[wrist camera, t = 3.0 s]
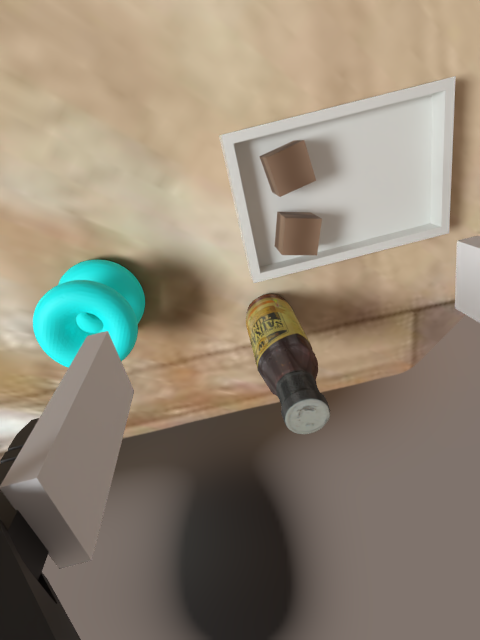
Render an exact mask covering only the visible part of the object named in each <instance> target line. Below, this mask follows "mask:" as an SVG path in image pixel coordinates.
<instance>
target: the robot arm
mask: <svg viewBox="0 0 480 640" xmlns="http://www.w3.org/2000/svg"><path fill="white" fill-rule="evenodd" d="M455 308H456V309H457V310H459V311H461V312H462V313H464V314H466V315H467V316H469V317H471V318H473V319H474V320H476V321H478V322H479V323H480V236H474V237H470V238H466V239H462V240H458V241H457V260H456V290H455ZM133 394H134V390H133V387H132V385H131V383H130V380H129V378H128V376H127V374H126V371H125V369H124V367H123V364H122V362H121V360H120V358H119V355H118V353H117V351H116V348H115V346H114V344H113V342H112V339H111V337H110V335H109V332H108V331H105V332H101V333H97V334H93V335H89V336H87V337H86V339H85V341H84V342H83V344H82V346H81V348H80V349H79V351H78V353H77V354H76V356H75V358H74V360H73V361H72V363H71V365H70V367H69V368H68V370H67V372H66V373H65V375H64V377H63V379H62V380H61V382H60V384H59V385H58V387H57V389H56V391H55V392H54V394H53V396H52V398H51V399H50V401H49V403H48V404H47V406H46V408H45V410H44V411H43V413H42V415H41V416H40V418H38V419H34V420H31V421H30V422H29V423H28V424H27V425H26V426H25V427H24V428H23V429H22V430H21V431H20V432H19V433H18V434H17V435H16V436H15V438H14V440H13V441H12V443H11V444H10V446H9V448H8V451H7V452H5V454H4V456H3V457H2V459H1V460H0V640H81V639H80V638H79V636H78V634H77V632H76V630H75V628H74V627H73V625H72V623H71V621H70V619H69V617H68V616H67V614H66V612H65V610H64V608H63V607H62V605H61V603H60V601H59V599H58V597H57V596H56V594H55V592H54V590H53V588H52V587H51V585H50V583H49V581H48V580H47V578H46V577H45V576H44V574H43V573H42V569H43V566H44V563H45V561H46V558H47V555H48V554H49V556H50V557H51V558H52V560H53V561H54V562H55V563H56V565H57V566H58V568H59V569H61V568H65V567H69V566H73V565H76V564H80V563H84V562H88V561H91V560H92V557H93V553H94V549H95V545H96V541H97V537H98V533H99V529H100V525H101V521H102V517H103V513H104V509H105V505H106V501H107V497H108V493H109V489H110V486H111V481H112V477H113V473H114V469H115V465H116V462H117V458H118V454H119V449H120V446H121V442H122V438H123V434H124V430H125V426H126V422H127V418H128V414H129V410H130V406H131V402H132V398H133Z"/></svg>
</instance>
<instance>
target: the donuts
mask: <svg viewBox="0 0 480 640" xmlns="http://www.w3.org/2000/svg"><path fill="white" fill-rule="evenodd" d="M144 309H145V296H144V292H143V289H142V287H141V285H140V283H139V281H138V280H137V278H136V277H135V276H134V275H133V274H132V273H131V272H130V271H129V270H127V269H126V268H125V267H123V266H121V265H119V264H117V263H114V262H111V261H107V260H99V259H96V260H87V261H83V262H80V263H78V264H76V265H74V266H73V267H71V268H70V269H69V270H68V271H67V272H66V273H65V274H64V275H63V276H62V278H61V280H60V282H59V284H58V285H57V286H55V287H54V288H52V289H51V290H49V291H48V292H47V293H46V294H45V295H44V296H43V297H42V298H41V299H40V301H39V302H38V304H37V306H36V309H35V312H34V316H33V329H34V333H35V336H36V339H37V341H38V343H39V345H40V346H41V348H42V349H43V350H44V351H45V353H46V354H47V355H48V356H50V357H51V358H52V359H53V360H55V361H56V362H58V363H59V364H61V365H63V366H66V367H68V368H69V367H70V365H71V363H72V361H73V360H74V358H75V356H76V354H77V353H78V351H79V349H80V348H81V346H82V344H83V342H84V341H85V339H86V337H87V336H89V335H93V334H97V333H101V332H105V331H108V332H109V335H110V337H111V339H112V342H113V344H114V346H115V348H116V351H117V353H118V355H119V358H120V360H121V361H122V360H124V359H125V358H126V357H127V356H128V354H129V353H130V352H131V350H132V349H133V347H134V345H135V342H136V339H137V334H138V323H139V322H140V320H141V318H142V316H143V313H144Z"/></svg>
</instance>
